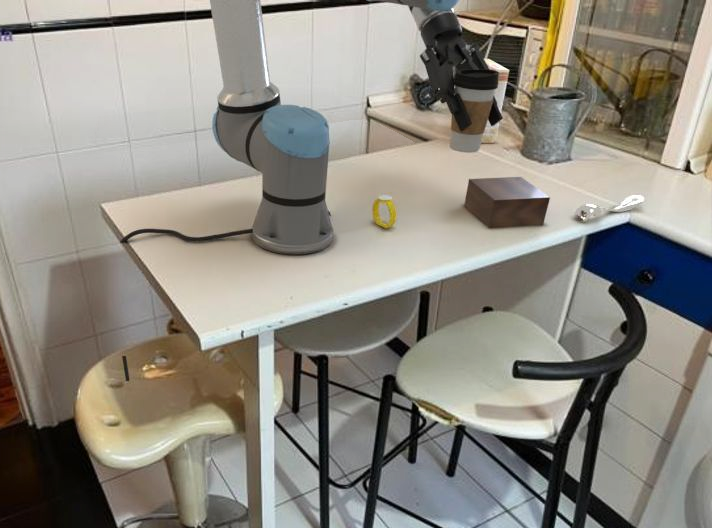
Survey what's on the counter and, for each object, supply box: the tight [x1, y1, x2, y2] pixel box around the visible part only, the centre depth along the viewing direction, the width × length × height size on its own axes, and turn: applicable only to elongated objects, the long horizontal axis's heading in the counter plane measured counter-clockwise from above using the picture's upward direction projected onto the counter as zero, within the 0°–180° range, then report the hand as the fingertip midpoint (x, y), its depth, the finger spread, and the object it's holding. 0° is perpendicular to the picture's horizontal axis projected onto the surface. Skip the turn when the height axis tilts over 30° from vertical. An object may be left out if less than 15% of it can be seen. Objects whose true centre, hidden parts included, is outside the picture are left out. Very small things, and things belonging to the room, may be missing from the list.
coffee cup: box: [449, 69, 499, 154], centre depth 129 cm, size 8×8×15 cm
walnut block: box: [463, 176, 551, 229], centre depth 136 cm, size 12×12×6 cm
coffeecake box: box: [481, 58, 510, 144], centre depth 181 cm, size 15×7×20 cm, turn 6°
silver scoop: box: [574, 195, 645, 223], centre depth 139 cm, size 20×4×5 cm
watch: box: [371, 194, 397, 229], centre depth 129 cm, size 6×3×6 cm, turn 31°
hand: (481, 124), depth 127 cm, fingers closed on coffee cup, 8 cm apart
